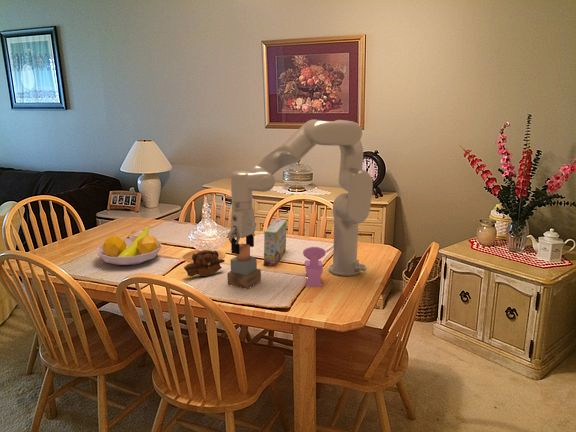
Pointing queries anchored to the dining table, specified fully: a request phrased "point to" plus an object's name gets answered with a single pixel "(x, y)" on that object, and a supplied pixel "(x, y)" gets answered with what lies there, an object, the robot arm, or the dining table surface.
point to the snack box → (274, 242)
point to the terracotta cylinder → (244, 252)
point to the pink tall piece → (313, 266)
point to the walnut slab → (244, 279)
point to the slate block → (244, 266)
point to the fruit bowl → (129, 249)
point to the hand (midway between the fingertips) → (242, 249)
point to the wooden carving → (204, 263)
